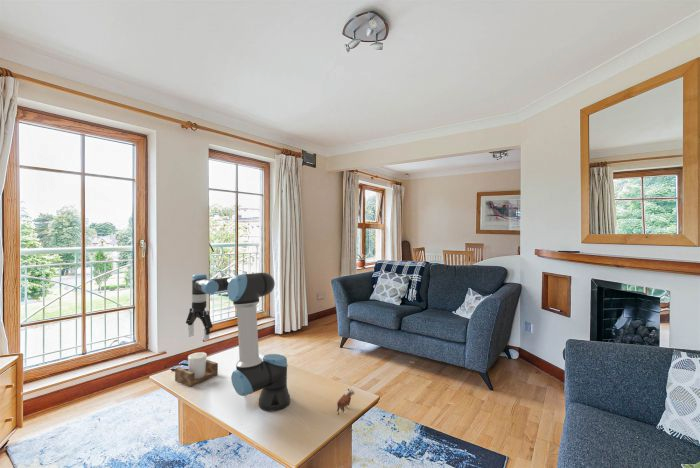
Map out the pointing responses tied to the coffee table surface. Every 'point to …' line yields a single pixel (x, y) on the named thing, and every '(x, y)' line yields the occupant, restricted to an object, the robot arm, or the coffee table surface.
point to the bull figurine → (345, 400)
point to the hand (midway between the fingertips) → (198, 338)
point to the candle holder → (197, 364)
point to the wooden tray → (188, 377)
